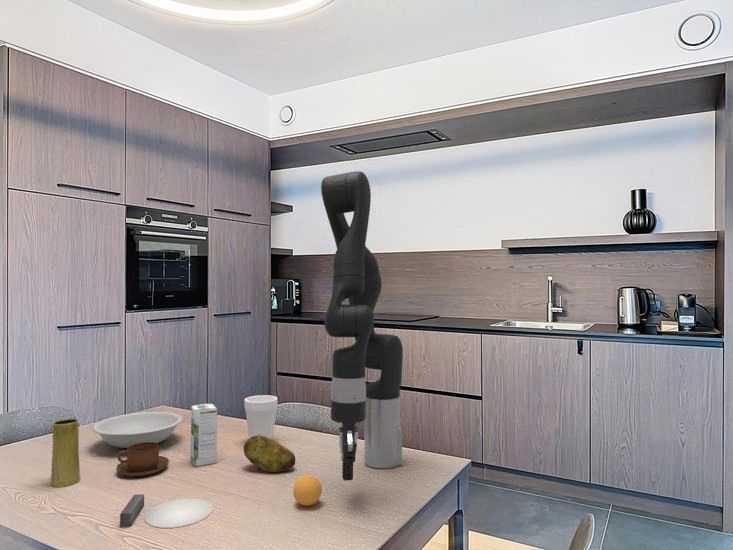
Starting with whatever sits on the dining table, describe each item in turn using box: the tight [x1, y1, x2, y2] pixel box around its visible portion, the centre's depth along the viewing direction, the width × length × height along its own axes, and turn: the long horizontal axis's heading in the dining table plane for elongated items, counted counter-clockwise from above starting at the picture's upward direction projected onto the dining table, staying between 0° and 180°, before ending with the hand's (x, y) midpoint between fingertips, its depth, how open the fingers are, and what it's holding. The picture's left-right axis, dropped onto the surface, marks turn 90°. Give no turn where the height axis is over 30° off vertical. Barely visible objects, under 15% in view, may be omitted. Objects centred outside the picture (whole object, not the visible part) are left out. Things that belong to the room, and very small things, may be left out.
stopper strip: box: [119, 493, 145, 528], centre depth 103 cm, size 2×9×2 cm, turn 9°
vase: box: [49, 418, 81, 488], centre depth 121 cm, size 6×6×14 cm
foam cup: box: [244, 394, 279, 440], centre depth 149 cm, size 10×9×13 cm
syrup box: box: [190, 403, 218, 468], centre depth 134 cm, size 6×6×14 cm
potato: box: [242, 435, 296, 473], centre depth 129 cm, size 8×13×8 cm, turn 60°
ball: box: [292, 474, 323, 507], centre depth 108 cm, size 6×6×6 cm
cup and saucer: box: [115, 442, 170, 477], centre depth 128 cm, size 12×12×6 cm
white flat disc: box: [144, 498, 213, 529], centre depth 105 cm, size 13×13×1 cm
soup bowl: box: [91, 411, 184, 449], centre depth 149 cm, size 24×24×7 cm
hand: (347, 479), depth 110 cm, fingers closed
